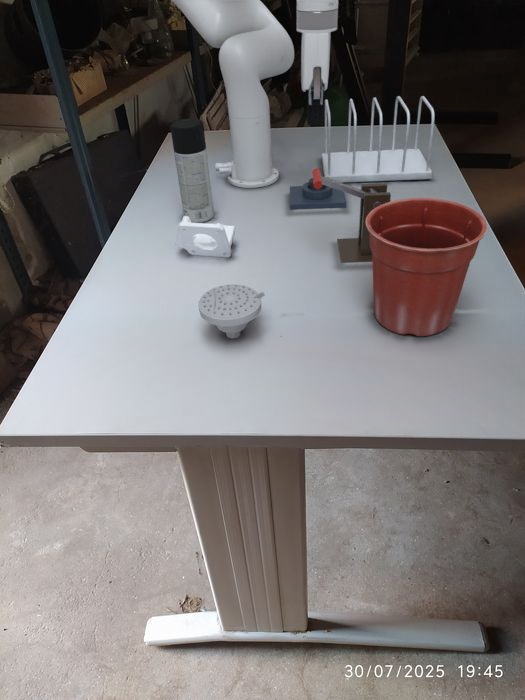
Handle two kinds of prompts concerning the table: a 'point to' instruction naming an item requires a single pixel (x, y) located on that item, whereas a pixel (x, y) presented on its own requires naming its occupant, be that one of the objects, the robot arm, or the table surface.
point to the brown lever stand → (363, 226)
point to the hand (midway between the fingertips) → (315, 123)
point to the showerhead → (230, 307)
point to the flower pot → (421, 261)
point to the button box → (315, 198)
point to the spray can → (192, 169)
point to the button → (311, 185)
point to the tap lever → (337, 185)
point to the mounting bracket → (205, 238)
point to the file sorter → (377, 153)
